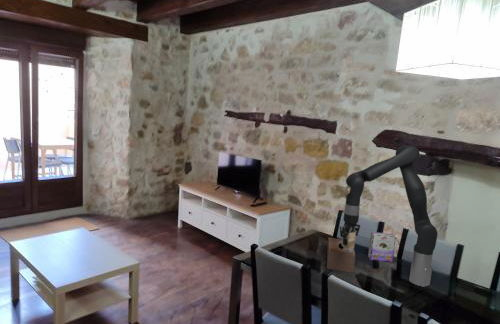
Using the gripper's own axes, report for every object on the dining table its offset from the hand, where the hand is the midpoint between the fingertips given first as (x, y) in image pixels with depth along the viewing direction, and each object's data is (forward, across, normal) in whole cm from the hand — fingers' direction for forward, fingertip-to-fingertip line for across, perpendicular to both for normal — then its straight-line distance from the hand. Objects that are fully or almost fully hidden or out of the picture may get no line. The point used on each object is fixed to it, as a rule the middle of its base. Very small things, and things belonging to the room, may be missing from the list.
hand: (348, 244), depth 187 cm
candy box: (+19, +42, +8) cm, 47 cm away
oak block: (+1, 0, 0) cm, 1 cm away
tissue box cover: (+19, +14, +16) cm, 29 cm away
